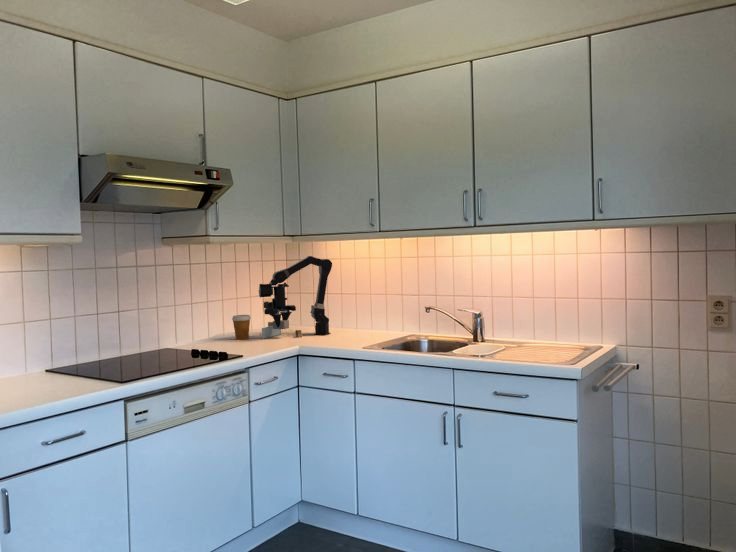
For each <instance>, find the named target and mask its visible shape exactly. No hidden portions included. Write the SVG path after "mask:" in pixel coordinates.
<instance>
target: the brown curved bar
mask: <svg viewBox="0 0 736 552" xmlns="http://www.w3.org/2000/svg"><path fill="white" fill-rule="evenodd" d="M269 326H273V321H267V327H269ZM302 336H303V335H302V330H301V329H298V330H296V329H295V337H296V338H302Z"/></svg>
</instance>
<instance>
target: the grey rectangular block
mask: <svg viewBox="0 0 736 552" xmlns="http://www.w3.org/2000/svg"><path fill="white" fill-rule="evenodd" d="M272 322H273V329H281V330H286V329H290V321H289V319H288V320H282V319H281V320H280V325H279V327H277V326H276V323H275V321H274V320H272Z"/></svg>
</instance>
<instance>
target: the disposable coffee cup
mask: <svg viewBox="0 0 736 552" xmlns="http://www.w3.org/2000/svg"><path fill="white" fill-rule="evenodd" d="M231 320H232V324H233V328H234V329H233V330H234V334H235V339H236V341H237V340H238V341H242V340H243V341H244V340H248V339H249V335H250V323H251V315H250V314H237V315H232V318H231Z"/></svg>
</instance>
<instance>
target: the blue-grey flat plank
mask: <svg viewBox="0 0 736 552" xmlns="http://www.w3.org/2000/svg"><path fill="white" fill-rule="evenodd" d="M279 335H282V329H273V326H269V327H268V326H264V327H261V338H262V339H267V338H270V337H271V338H272V337H275V336H279Z"/></svg>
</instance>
